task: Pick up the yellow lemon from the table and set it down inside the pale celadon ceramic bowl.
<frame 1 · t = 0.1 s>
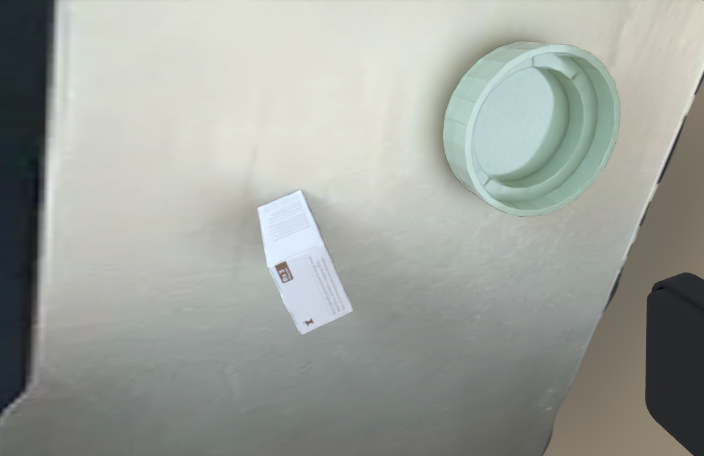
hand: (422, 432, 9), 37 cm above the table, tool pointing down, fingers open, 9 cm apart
cosmetic box: (288, 225, 47), on the table
bowl: (513, 123, 49), on the table
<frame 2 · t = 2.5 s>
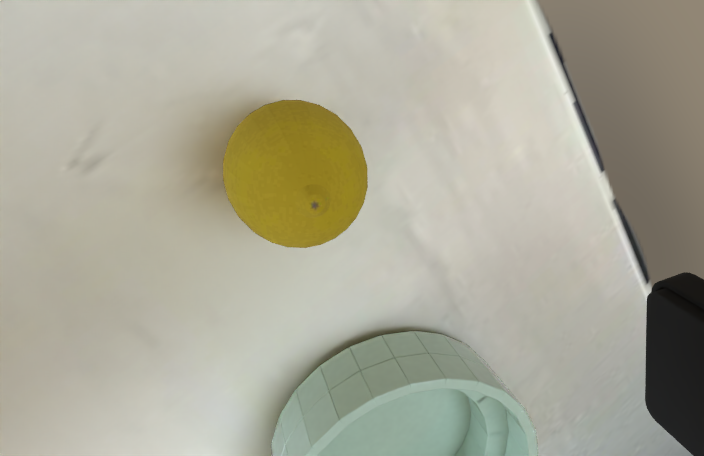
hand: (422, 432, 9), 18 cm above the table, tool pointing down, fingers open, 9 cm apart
bowl: (387, 427, 33), on the table
lemon: (279, 148, 25), on the table
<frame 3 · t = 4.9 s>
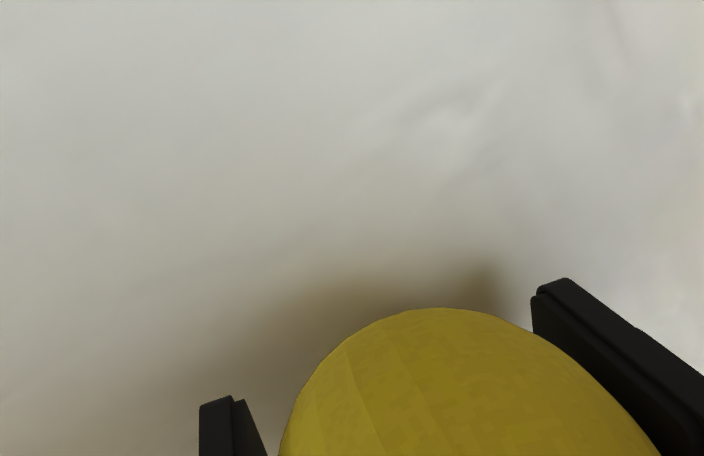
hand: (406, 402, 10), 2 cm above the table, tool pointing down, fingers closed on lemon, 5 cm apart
lemon: (380, 351, 12), on the table, touching gripper
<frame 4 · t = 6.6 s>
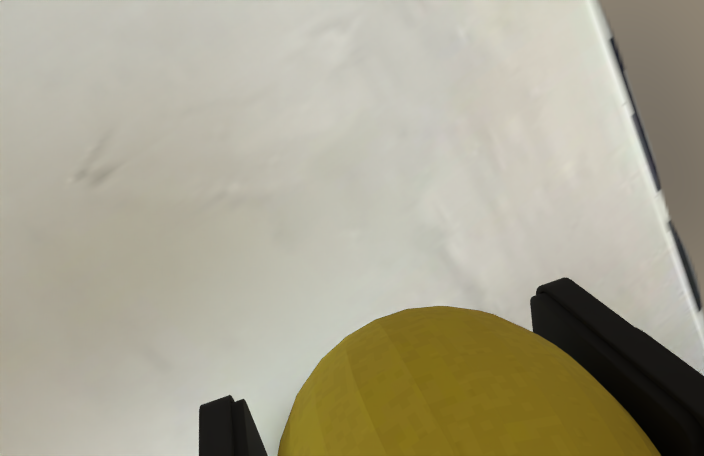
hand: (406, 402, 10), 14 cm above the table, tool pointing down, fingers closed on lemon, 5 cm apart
lemon: (379, 350, 12), point 12 cm above the table, touching gripper
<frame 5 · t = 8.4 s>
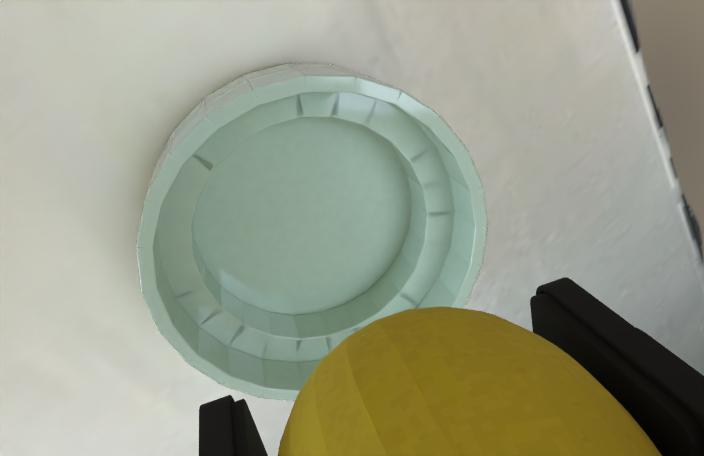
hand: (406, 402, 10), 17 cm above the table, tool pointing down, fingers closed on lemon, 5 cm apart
bowl: (304, 214, 26), on the table
lemon: (380, 350, 12), point 15 cm above the table, touching gripper
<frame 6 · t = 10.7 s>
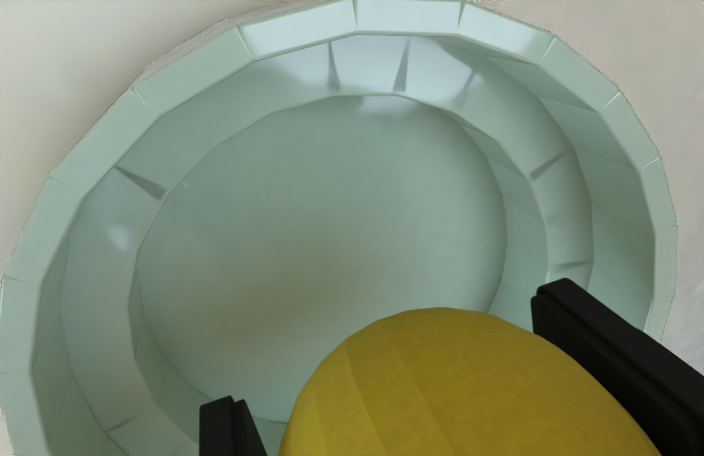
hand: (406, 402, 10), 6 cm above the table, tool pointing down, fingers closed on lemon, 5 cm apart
bowl: (332, 263, 16), on the table
lemon: (380, 350, 12), point 4 cm above the table, touching gripper
when the fingers open (2 cm above the table, at t = 12.3 s): lemon stays where it is, resting on bowl.
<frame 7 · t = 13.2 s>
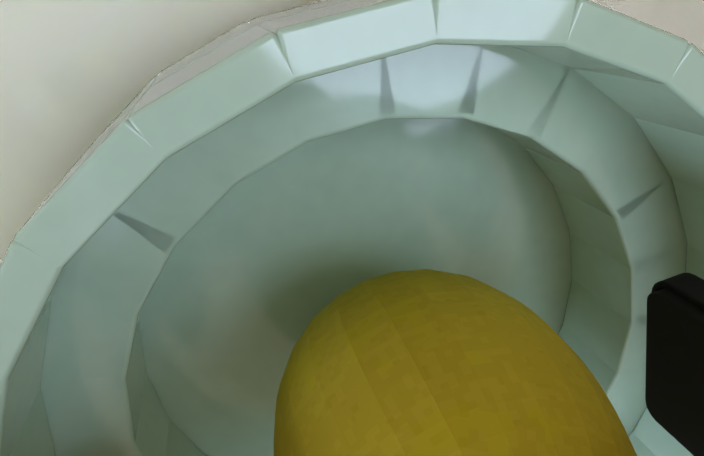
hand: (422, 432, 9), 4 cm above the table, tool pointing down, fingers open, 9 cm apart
bowl: (368, 308, 13), on the table
lemon: (370, 316, 13), resting on bowl
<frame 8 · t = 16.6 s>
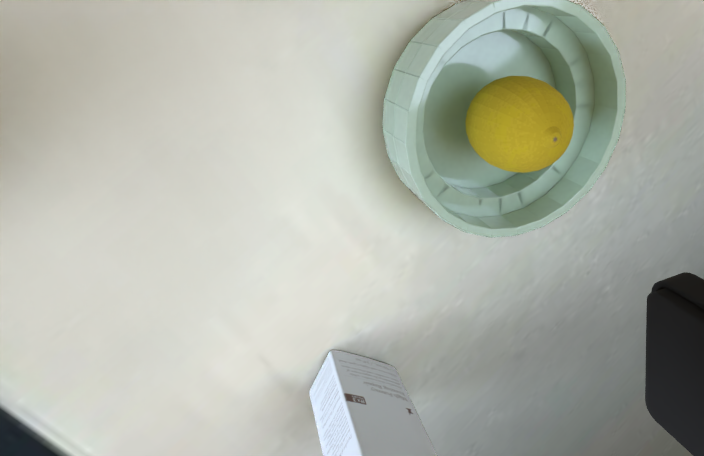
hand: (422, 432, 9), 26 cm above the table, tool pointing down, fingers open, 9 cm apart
cosmetic box: (349, 377, 42), on the table
bowl: (481, 110, 36), on the table
lemon: (483, 111, 36), resting on bowl
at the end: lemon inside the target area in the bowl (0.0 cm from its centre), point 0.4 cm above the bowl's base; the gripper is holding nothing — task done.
